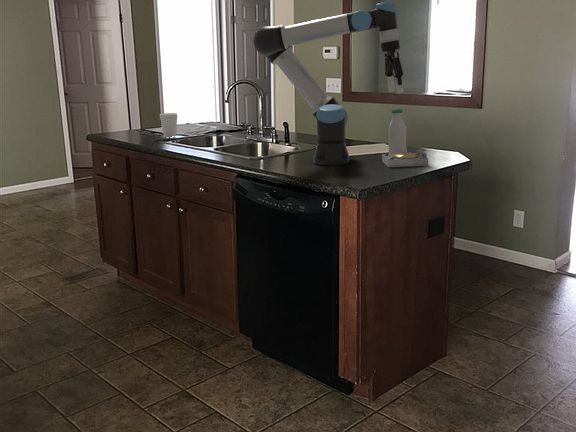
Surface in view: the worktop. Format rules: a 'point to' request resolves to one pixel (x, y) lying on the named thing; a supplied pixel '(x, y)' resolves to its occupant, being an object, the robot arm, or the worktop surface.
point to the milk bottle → (397, 133)
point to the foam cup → (169, 124)
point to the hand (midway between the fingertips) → (396, 92)
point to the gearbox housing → (405, 159)
